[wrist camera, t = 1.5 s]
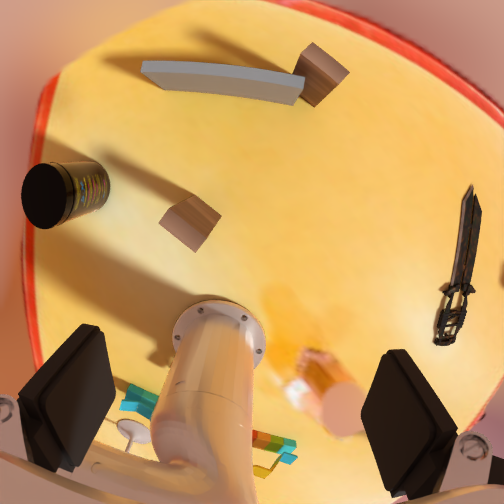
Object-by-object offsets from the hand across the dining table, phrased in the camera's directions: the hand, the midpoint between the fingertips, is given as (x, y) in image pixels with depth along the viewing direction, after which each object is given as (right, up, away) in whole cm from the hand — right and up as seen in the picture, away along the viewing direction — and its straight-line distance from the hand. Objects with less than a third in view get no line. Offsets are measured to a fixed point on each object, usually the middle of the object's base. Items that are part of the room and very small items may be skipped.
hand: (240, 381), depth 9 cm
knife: (+31, +2, +28) cm, 42 cm away
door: (-2, +23, +21) cm, 31 cm away
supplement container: (-20, +13, +25) cm, 35 cm away
